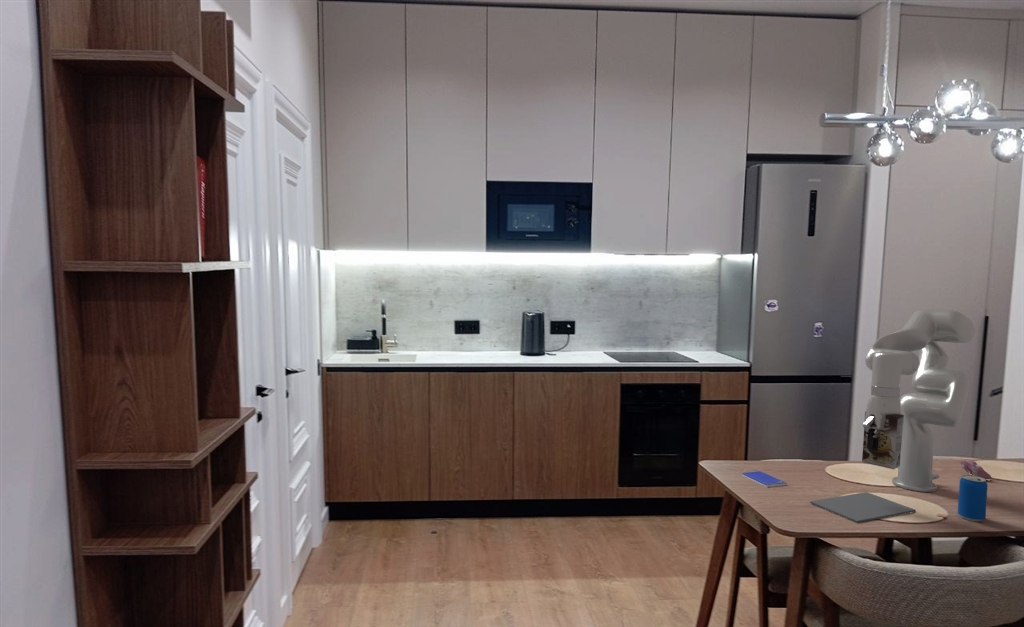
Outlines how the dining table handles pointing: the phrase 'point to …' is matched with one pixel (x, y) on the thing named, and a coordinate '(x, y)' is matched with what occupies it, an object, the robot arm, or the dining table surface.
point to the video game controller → (975, 469)
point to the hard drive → (764, 479)
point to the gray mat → (862, 507)
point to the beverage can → (972, 498)
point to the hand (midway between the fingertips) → (882, 448)
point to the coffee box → (886, 444)
